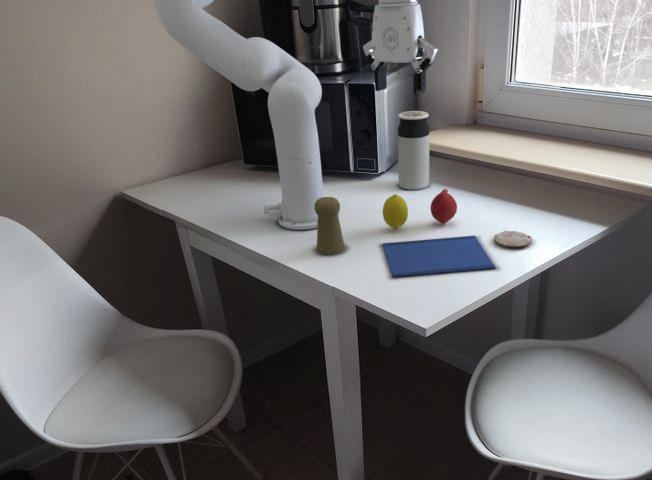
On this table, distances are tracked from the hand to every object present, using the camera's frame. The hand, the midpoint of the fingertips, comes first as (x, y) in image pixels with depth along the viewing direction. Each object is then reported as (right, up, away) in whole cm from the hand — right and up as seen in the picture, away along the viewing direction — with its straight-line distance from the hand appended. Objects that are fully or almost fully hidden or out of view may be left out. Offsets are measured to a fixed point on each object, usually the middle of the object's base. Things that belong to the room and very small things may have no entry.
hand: (399, 91), depth 128 cm
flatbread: (+24, -31, +2) cm, 39 cm away
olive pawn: (-14, -32, +3) cm, 35 cm away
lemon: (0, -27, +11) cm, 29 cm away
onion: (+10, -25, +12) cm, 30 cm away
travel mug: (+5, -10, +36) cm, 37 cm away
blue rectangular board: (+7, -34, -2) cm, 35 cm away
